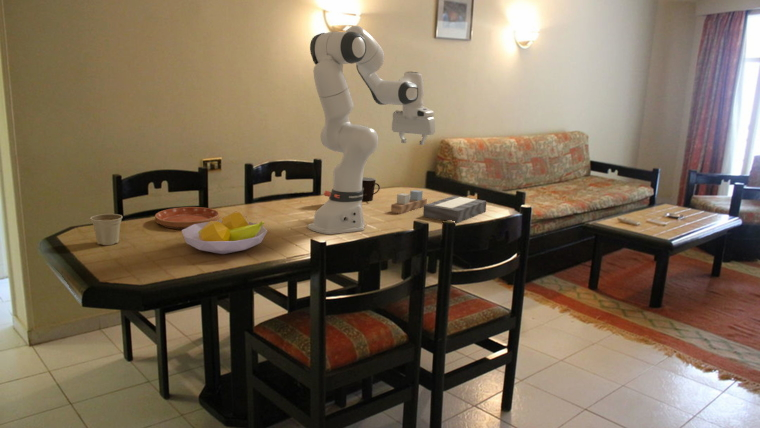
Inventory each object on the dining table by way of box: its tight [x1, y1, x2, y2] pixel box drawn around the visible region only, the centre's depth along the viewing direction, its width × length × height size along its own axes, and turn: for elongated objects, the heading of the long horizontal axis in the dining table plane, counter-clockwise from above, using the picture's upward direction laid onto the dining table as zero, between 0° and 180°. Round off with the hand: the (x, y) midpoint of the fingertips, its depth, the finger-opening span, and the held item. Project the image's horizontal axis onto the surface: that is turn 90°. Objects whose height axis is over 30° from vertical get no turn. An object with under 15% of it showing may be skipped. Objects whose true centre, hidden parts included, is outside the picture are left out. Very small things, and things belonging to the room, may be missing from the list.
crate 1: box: [396, 192, 410, 205], centre depth 246 cm, size 4×4×4 cm
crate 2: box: [409, 189, 424, 201], centre depth 255 cm, size 4×4×4 cm
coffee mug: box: [362, 176, 381, 202], centre depth 265 cm, size 12×9×10 cm
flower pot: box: [89, 213, 123, 246], centre depth 183 cm, size 9×9×9 cm
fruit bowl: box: [180, 210, 268, 255], centre depth 182 cm, size 28×27×11 cm
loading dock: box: [422, 195, 487, 224], centre depth 245 cm, size 28×16×5 cm, turn 146°
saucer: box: [154, 206, 220, 230], centre depth 213 cm, size 23×23×4 cm
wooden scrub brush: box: [390, 197, 428, 215], centre depth 251 cm, size 22×5×4 cm, turn 146°
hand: (412, 143), depth 242 cm, fingers open, 8 cm apart
